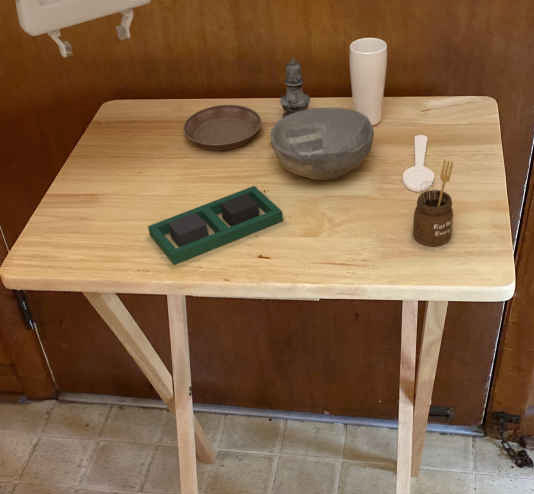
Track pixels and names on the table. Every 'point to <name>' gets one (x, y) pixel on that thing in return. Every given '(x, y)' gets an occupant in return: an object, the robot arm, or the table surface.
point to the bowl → (322, 141)
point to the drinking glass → (368, 76)
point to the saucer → (222, 126)
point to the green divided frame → (216, 226)
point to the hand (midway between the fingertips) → (96, 46)
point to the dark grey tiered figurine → (294, 90)
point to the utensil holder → (434, 213)
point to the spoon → (418, 168)
